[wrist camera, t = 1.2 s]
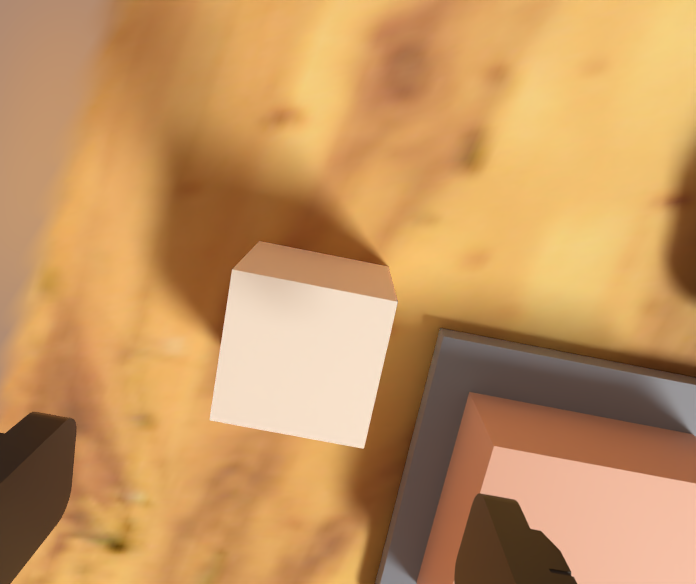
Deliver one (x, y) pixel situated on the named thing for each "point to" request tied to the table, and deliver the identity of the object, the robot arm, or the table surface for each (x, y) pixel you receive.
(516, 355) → the build base
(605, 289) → the table surface
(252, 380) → the cream block
